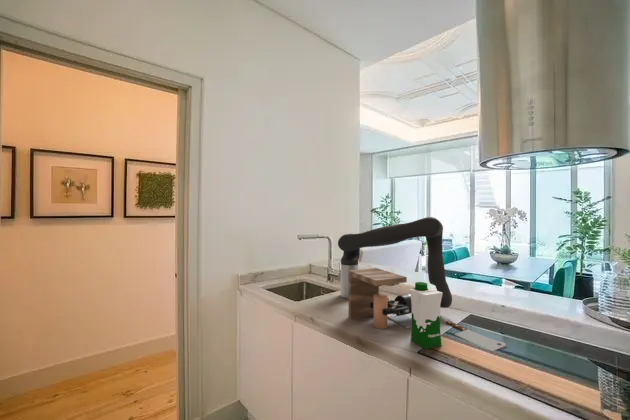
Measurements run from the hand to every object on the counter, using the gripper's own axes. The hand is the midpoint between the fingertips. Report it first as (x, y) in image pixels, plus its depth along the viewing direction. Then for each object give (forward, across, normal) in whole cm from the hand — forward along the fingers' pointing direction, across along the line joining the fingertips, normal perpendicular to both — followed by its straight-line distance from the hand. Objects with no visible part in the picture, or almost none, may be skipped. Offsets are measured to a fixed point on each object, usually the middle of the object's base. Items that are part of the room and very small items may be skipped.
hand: (376, 308), depth 115 cm
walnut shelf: (-2, -3, +7) cm, 8 cm away
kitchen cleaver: (-26, +20, +8) cm, 34 cm away
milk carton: (-7, +19, +7) cm, 21 cm away
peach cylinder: (-2, 0, +7) cm, 7 cm away
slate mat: (-14, 0, +7) cm, 16 cm away
